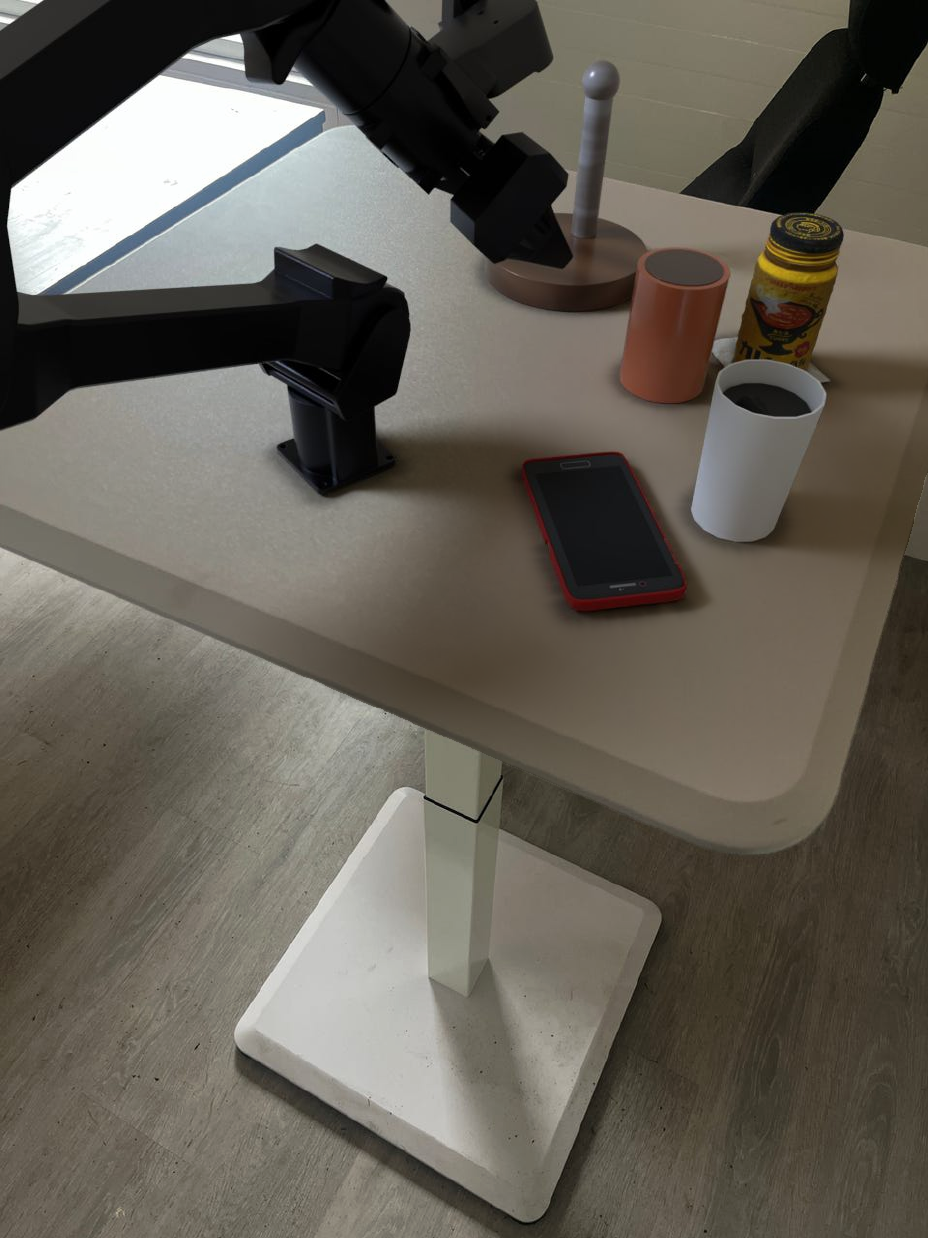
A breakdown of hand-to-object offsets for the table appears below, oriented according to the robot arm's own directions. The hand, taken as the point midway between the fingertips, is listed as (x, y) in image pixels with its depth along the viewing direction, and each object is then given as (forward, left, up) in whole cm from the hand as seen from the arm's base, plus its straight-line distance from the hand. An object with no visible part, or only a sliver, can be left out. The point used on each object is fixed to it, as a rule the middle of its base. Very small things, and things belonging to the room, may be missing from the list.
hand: (534, 232), depth 63 cm
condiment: (-7, -21, -14) cm, 26 cm away
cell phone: (-15, +5, -14) cm, 21 cm away
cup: (-4, -12, -14) cm, 18 cm away
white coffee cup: (-19, -4, -14) cm, 24 cm away
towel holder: (+15, -17, -14) cm, 27 cm away
